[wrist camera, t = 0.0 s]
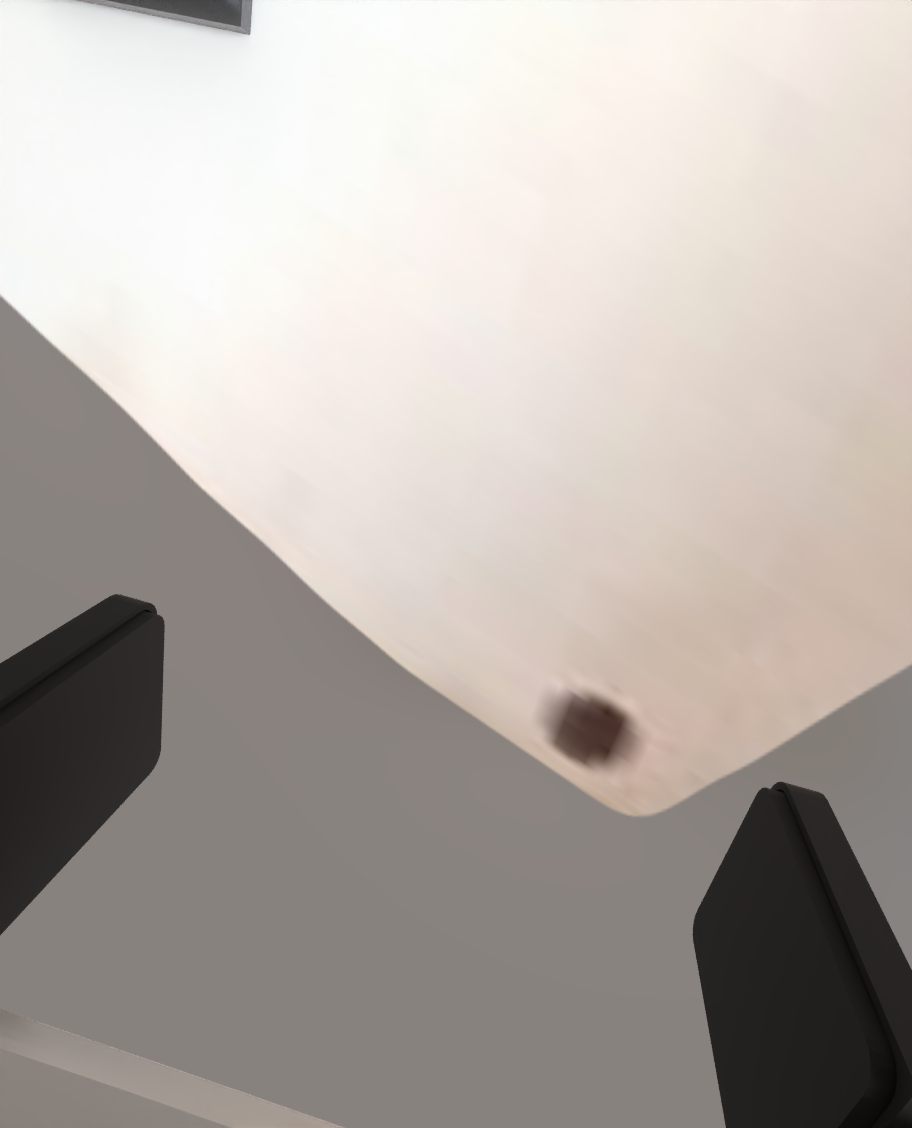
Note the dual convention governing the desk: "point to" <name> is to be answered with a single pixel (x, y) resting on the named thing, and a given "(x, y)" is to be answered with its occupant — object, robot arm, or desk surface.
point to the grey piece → (192, 11)
